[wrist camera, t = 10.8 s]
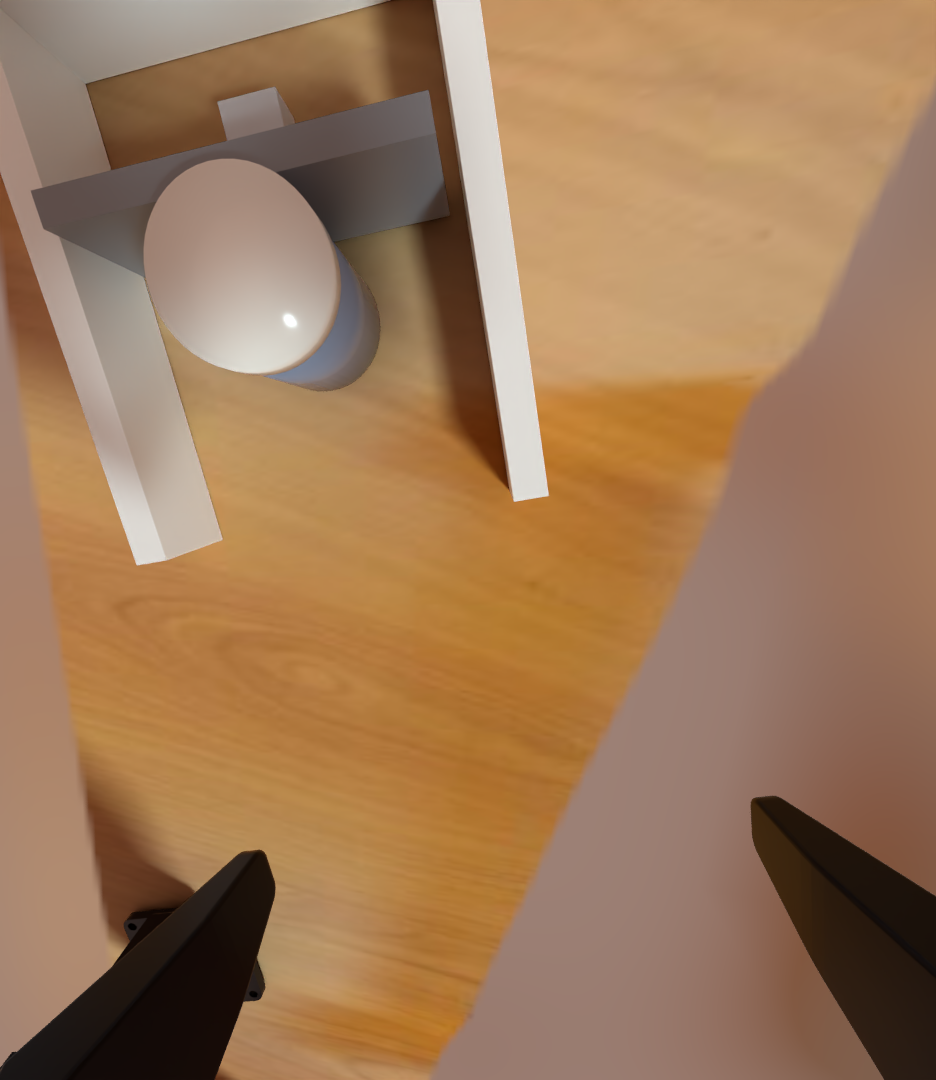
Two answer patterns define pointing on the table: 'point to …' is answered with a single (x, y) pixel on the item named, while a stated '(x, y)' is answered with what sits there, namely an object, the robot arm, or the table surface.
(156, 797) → the table surface
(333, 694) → the table surface
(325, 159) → the pusher
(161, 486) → the lane
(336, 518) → the table surface
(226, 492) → the table surface
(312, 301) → the jar
